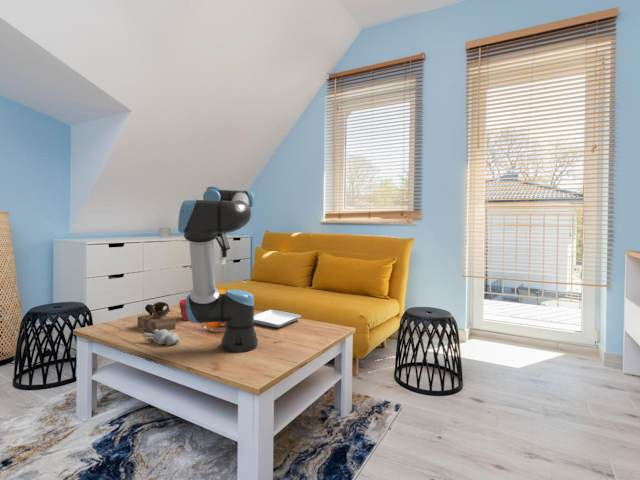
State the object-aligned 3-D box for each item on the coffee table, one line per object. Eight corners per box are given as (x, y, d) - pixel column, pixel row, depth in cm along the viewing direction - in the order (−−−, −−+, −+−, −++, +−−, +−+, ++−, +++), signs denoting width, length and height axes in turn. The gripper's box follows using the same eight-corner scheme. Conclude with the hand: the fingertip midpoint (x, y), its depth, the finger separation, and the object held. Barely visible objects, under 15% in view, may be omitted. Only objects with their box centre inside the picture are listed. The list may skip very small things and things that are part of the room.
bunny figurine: (167, 339, 153) (141, 329, 158) (166, 351, 153) (140, 341, 159) (184, 332, 161) (158, 324, 167) (183, 344, 162) (157, 335, 167)
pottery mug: (172, 315, 187) (173, 302, 183) (164, 328, 179) (165, 315, 175) (148, 308, 186) (149, 296, 182) (139, 321, 178) (139, 308, 174)
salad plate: (278, 331, 181) (279, 324, 181) (245, 324, 192) (245, 317, 191) (302, 321, 199) (302, 314, 199) (270, 315, 210) (270, 309, 210)
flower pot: (205, 318, 200) (205, 300, 199) (188, 322, 190) (188, 303, 190) (191, 315, 205) (192, 297, 205) (174, 319, 196) (174, 301, 195)
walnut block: (175, 328, 180) (175, 318, 180) (155, 333, 172) (155, 322, 171) (157, 322, 189) (157, 312, 189) (137, 326, 181) (137, 316, 181)
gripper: (237, 219, 176) (237, 264, 177) (204, 218, 191) (204, 260, 192) (225, 219, 170) (224, 266, 171) (191, 218, 185) (191, 261, 186)
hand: (214, 263), depth 181 cm, fingers open, 13 cm apart
